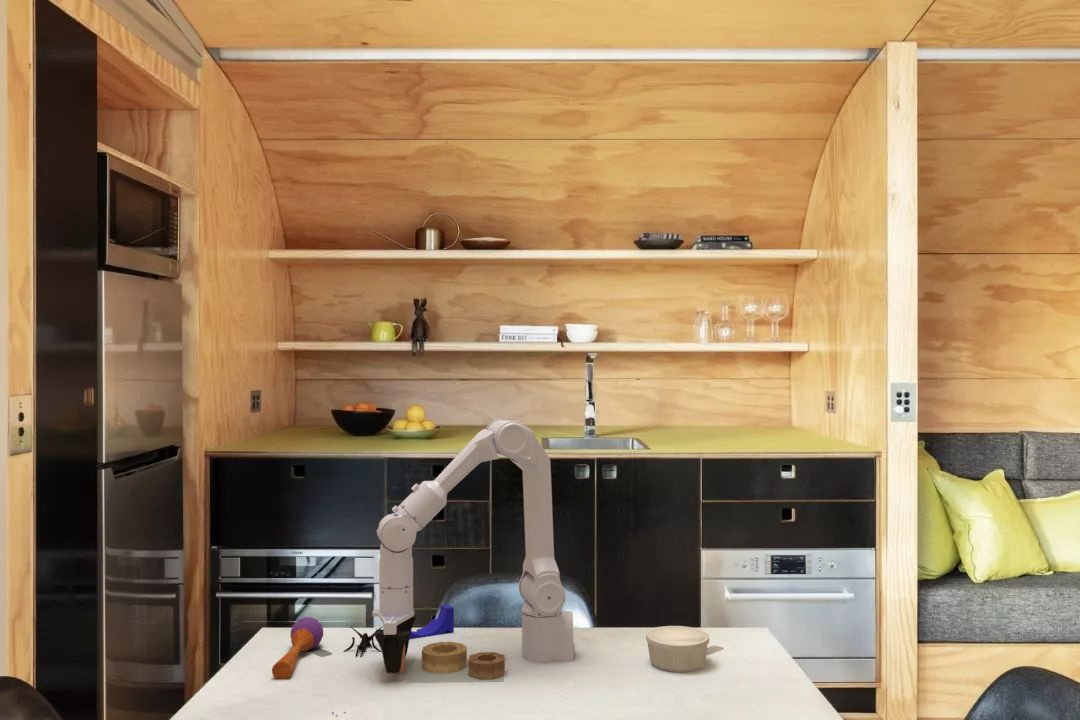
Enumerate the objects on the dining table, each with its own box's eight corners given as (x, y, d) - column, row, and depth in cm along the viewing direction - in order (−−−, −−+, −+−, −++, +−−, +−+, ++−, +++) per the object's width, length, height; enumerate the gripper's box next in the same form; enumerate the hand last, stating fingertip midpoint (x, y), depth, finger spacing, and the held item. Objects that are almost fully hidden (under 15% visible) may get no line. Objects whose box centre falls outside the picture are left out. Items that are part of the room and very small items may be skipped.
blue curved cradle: (445, 632, 176) (444, 602, 176) (453, 638, 172) (453, 607, 172) (387, 641, 170) (387, 610, 170) (395, 647, 166) (395, 616, 166)
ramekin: (681, 680, 148) (681, 648, 148) (632, 663, 156) (632, 633, 156) (722, 665, 155) (722, 635, 155) (673, 650, 163) (673, 621, 164)
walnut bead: (504, 667, 151) (504, 652, 151) (503, 679, 145) (503, 663, 145) (470, 667, 151) (470, 652, 151) (467, 679, 145) (467, 663, 145)
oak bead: (467, 658, 156) (467, 641, 156) (464, 673, 148) (464, 655, 148) (425, 659, 156) (425, 642, 156) (419, 673, 148) (419, 655, 148)
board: (505, 663, 156) (505, 657, 156) (503, 687, 144) (503, 681, 144) (415, 664, 156) (415, 658, 156) (406, 688, 144) (406, 682, 144)
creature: (380, 669, 157) (389, 646, 165) (378, 642, 156) (387, 620, 164) (336, 669, 157) (347, 646, 165) (335, 642, 156) (345, 619, 164)
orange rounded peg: (405, 673, 151) (405, 632, 152) (403, 679, 149) (403, 637, 149) (389, 673, 151) (389, 632, 151) (387, 679, 149) (386, 637, 149)
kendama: (260, 657, 149) (292, 615, 169) (268, 691, 149) (298, 645, 169) (295, 650, 149) (322, 609, 169) (302, 684, 149) (329, 639, 169)
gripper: (380, 575, 157) (380, 651, 157) (364, 596, 143) (365, 679, 143) (419, 575, 158) (419, 651, 157) (408, 595, 143) (408, 679, 143)
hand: (396, 664), depth 150 cm, fingers open, 7 cm apart
